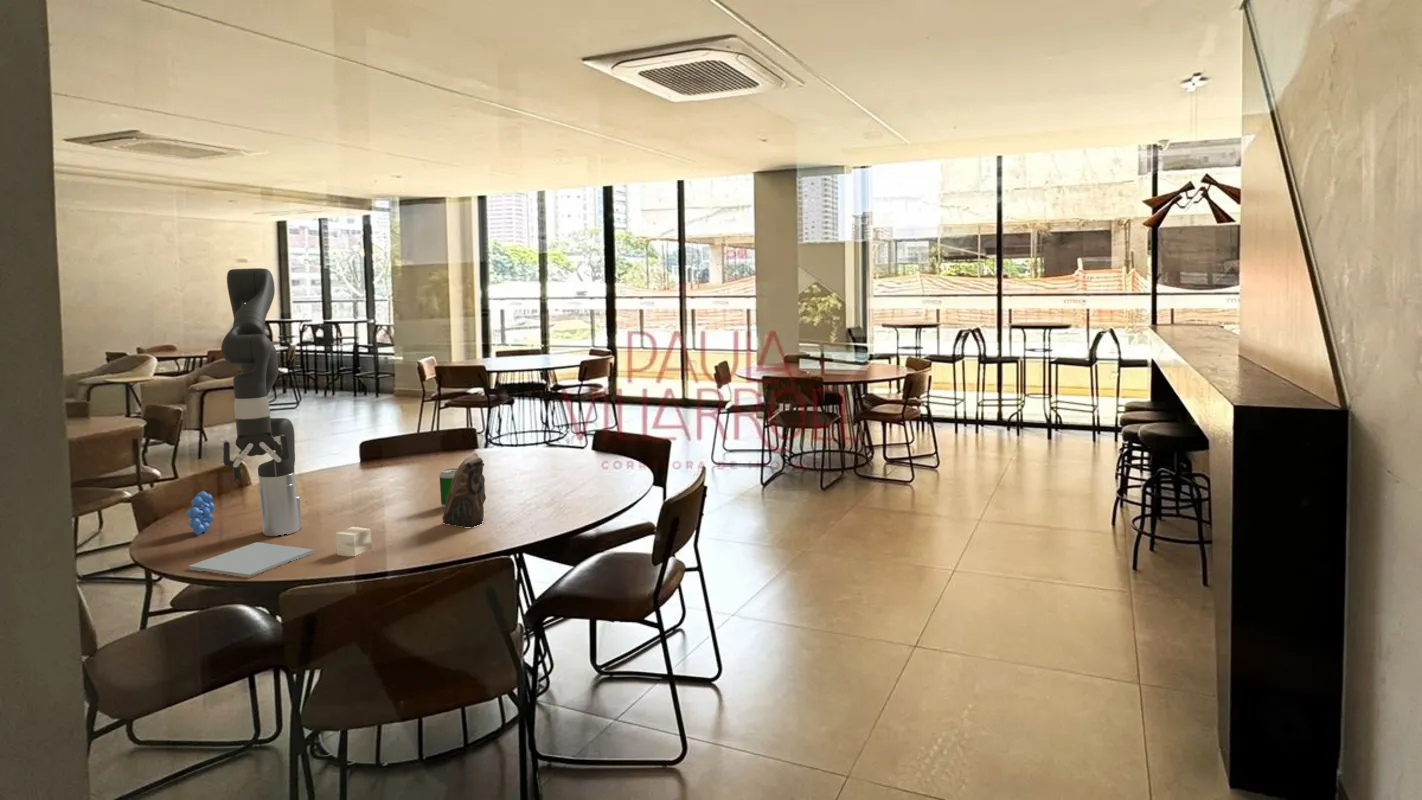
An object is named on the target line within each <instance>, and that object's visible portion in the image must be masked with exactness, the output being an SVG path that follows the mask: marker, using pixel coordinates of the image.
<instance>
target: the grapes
mask: <svg viewBox="0 0 1422 800" xmlns="http://www.w3.org/2000/svg"><path fill="white" fill-rule="evenodd" d="M213 499H214V498H213V496H212V494H211V493H207V491H204V490H201V491H200V492H198V493H197V495H196V496H195V497H194V498H193V499H192V500H191V501H190V503H191V505H192V507H190V508H189V509H188V510H187V511H186V513H185V515H186V517H187V518H188V519H189V520H190V521H189V522H188V526H189V527H190V528H191V529H192V532H193V533H194V534H195V535H197V536H200V535H201V534H203V533H202V532H204V533H206V532H208V530H210V528H211V526H210V524H211V523H213V521H214V520H215V517H214V515H213V514H212V512H214V510H215V509H216V505H215V504H214V503H213V502H212V501H213ZM205 531H206V532H205Z"/></svg>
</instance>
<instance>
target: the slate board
mask: <svg viewBox="0 0 1422 800" xmlns="http://www.w3.org/2000/svg"><path fill="white" fill-rule="evenodd" d="M312 553H313V554H314V553H315V552H314V549H313V548H312V549H311V548H305V547H304V548H303V547H299V546H298V547H296V546H290V545H289V546H288V545H282V544H281V545H280V544H275V543H274V544H273V543H266V542H260V541H259V542H258V541H256V542H253V543H251V544H247V545H245V546H241V547H239V548H236V549H233V550H230V551H227V552H224V553H221V554H219V555H216V556H213V557H210V558H207V559H204V560H202V561H199V562H196V563H193V564H190V565H188V570H190V571H195V570H196V572H202V571H210V572H218V573H226V574H236V575H245V576H250V575H252V574H256V573H260V572H263V571H265V570H267V569H270V568H272V567H275V566H277V565H280V564H283V563H285V562H288V561H292V562H294V561H293V560H295V561H297V560H300V559H302V557H303V558H304V557H308V556H310V555H313V554H312ZM309 554H310V555H309ZM307 555H308V556H307ZM299 558H300V559H299ZM296 559H297V560H296Z"/></svg>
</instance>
